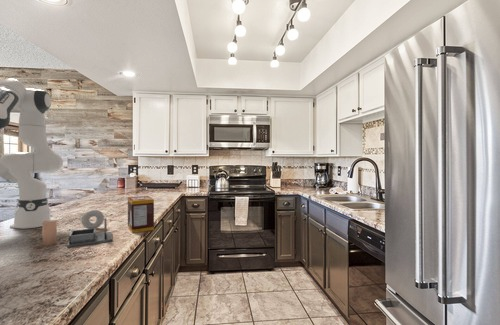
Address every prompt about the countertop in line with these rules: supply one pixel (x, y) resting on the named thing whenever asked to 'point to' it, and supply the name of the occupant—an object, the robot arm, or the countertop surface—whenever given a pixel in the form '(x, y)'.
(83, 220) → the grey ring
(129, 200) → the supplement box
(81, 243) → the grey tape dispenser
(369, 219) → the countertop surface
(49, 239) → the wooden block
